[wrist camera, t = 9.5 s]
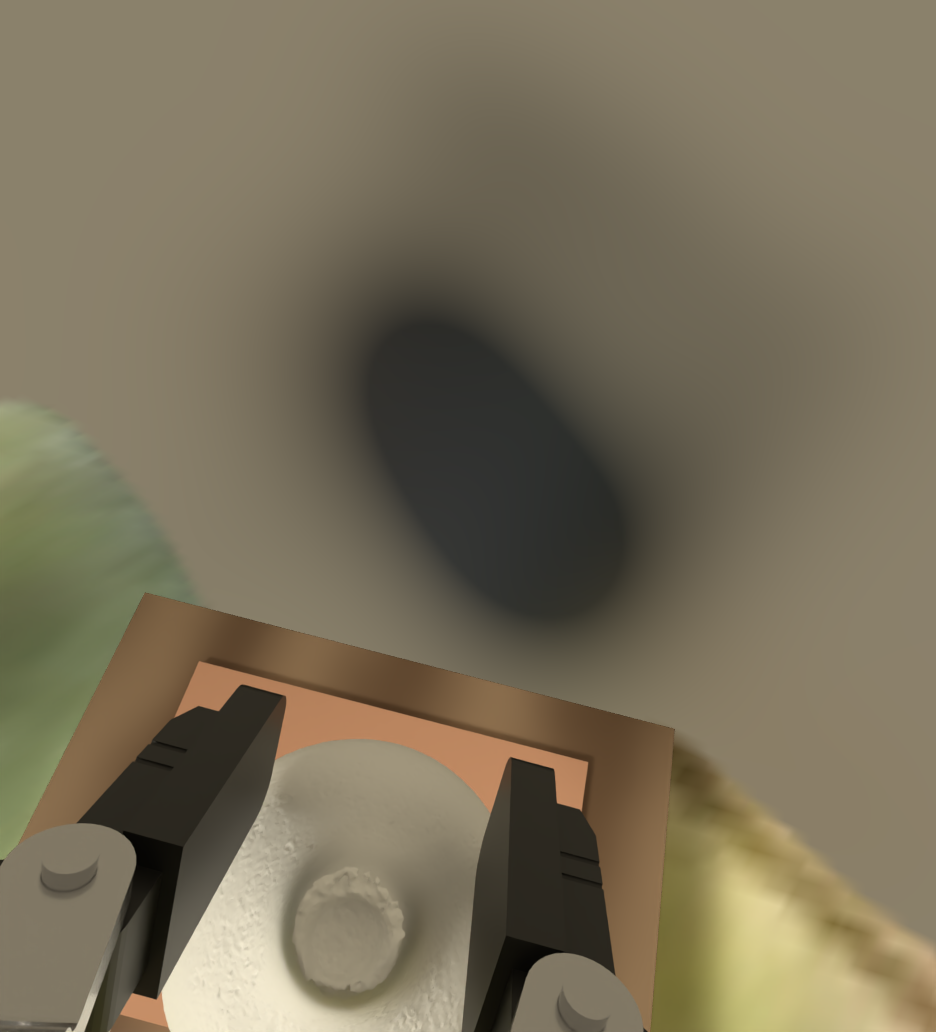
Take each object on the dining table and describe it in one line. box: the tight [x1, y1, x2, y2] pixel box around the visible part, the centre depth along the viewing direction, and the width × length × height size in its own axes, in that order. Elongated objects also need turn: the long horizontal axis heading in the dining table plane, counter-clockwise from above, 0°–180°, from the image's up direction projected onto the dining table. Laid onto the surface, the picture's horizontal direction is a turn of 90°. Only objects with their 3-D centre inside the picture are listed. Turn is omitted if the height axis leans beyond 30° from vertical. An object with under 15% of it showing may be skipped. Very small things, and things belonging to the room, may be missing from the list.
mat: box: [120, 661, 588, 1027], centre depth 23 cm, size 14×10×1 cm
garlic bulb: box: [161, 739, 490, 1032], centre depth 11 cm, size 6×6×8 cm
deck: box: [18, 593, 675, 1032], centre depth 24 cm, size 20×14×4 cm
